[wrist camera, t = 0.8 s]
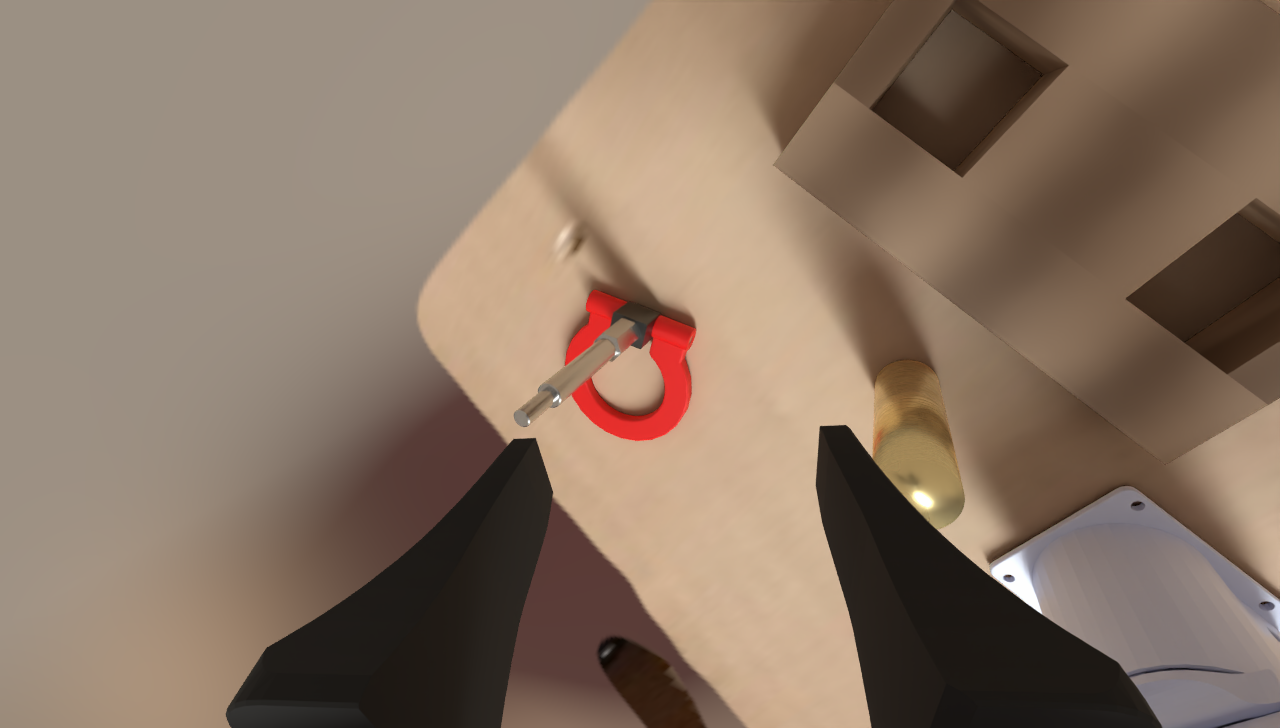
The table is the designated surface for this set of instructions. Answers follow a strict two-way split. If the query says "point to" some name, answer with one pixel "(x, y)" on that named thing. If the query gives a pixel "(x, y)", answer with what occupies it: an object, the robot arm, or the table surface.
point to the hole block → (1081, 194)
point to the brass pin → (917, 441)
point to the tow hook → (604, 342)
